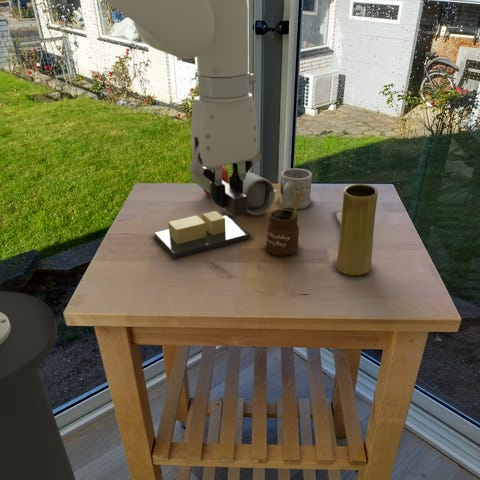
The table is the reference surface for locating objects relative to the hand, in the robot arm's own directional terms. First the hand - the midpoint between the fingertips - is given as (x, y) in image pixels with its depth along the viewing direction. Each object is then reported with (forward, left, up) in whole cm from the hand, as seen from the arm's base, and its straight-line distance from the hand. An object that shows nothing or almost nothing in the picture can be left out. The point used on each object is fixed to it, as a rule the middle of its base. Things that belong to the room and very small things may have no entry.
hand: (227, 202), depth 84 cm
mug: (+23, +14, -11) cm, 29 cm away
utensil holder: (+10, -2, -11) cm, 15 cm away
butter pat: (+2, +10, -10) cm, 14 cm away
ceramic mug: (+13, +17, -11) cm, 24 cm away
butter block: (-4, +10, -10) cm, 14 cm away
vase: (+17, -14, -11) cm, 25 cm away
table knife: (0, +5, -1) cm, 5 cm away
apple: (+11, +28, -11) cm, 32 cm away
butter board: (-1, +10, -11) cm, 15 cm away
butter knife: (+24, -5, -11) cm, 27 cm away
